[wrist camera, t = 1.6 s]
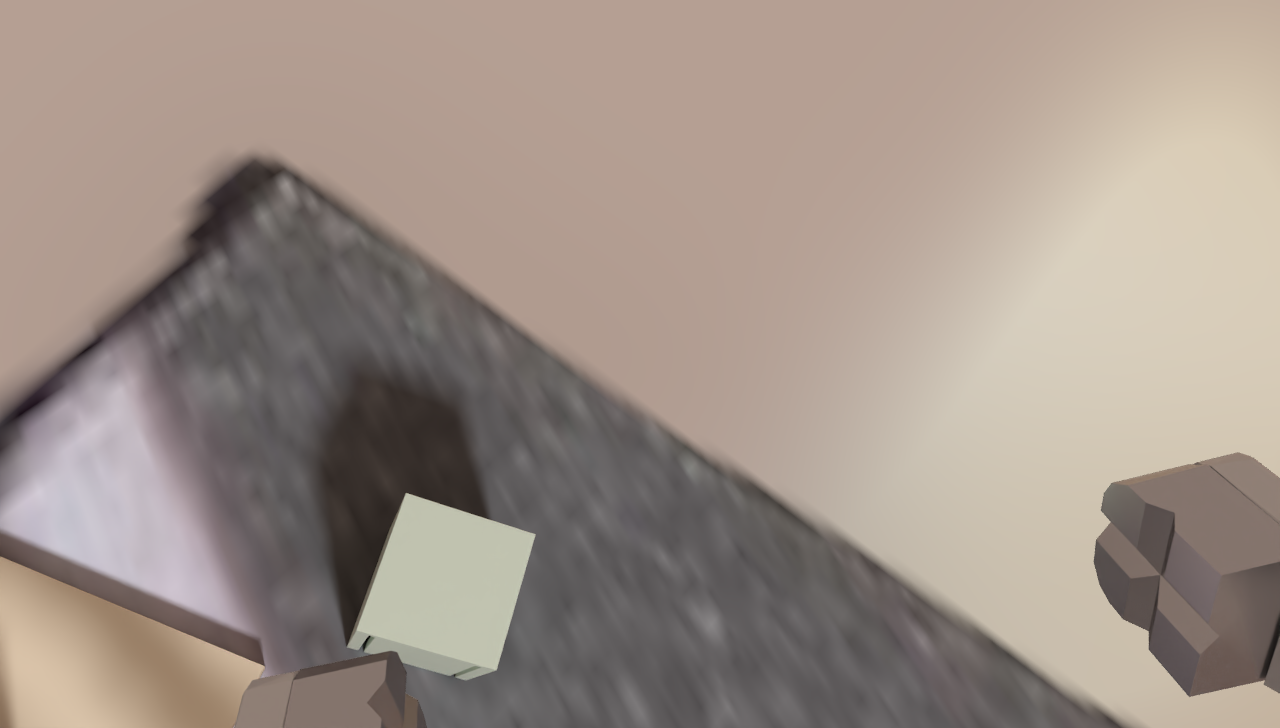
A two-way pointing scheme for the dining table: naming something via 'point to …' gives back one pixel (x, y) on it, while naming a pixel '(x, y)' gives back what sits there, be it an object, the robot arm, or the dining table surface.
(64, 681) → the post board
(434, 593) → the slotted sage cube
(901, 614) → the dining table surface
